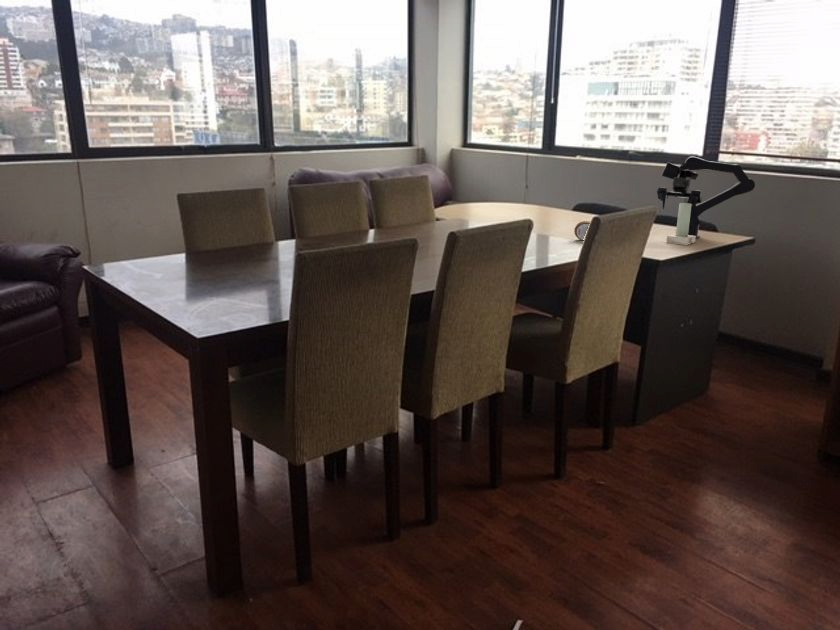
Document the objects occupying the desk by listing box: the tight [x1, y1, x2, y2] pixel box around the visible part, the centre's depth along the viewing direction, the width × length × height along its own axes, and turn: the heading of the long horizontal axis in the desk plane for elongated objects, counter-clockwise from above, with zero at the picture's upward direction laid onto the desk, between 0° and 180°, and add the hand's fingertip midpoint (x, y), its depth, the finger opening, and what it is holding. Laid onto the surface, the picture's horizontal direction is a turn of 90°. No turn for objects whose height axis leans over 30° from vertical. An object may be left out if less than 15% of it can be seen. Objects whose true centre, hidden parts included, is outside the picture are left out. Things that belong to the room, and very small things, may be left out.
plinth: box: [666, 232, 697, 246], centre depth 303 cm, size 9×9×3 cm
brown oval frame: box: [574, 220, 591, 241], centre depth 301 cm, size 15×3×8 cm, turn 84°
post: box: [675, 202, 692, 237], centre depth 300 cm, size 5×5×14 cm
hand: (673, 209), depth 304 cm, fingers open, 9 cm apart
